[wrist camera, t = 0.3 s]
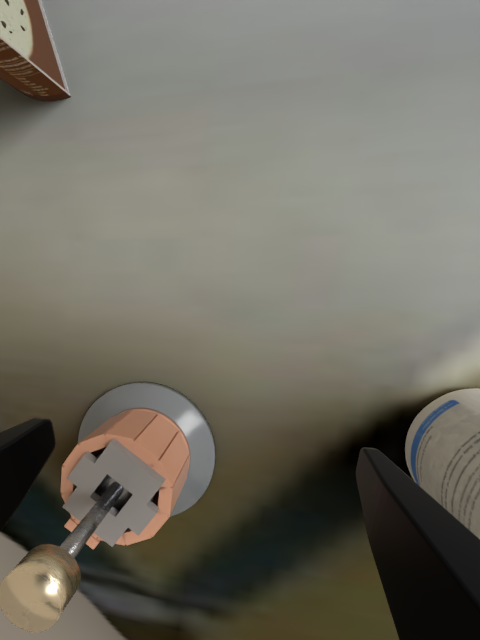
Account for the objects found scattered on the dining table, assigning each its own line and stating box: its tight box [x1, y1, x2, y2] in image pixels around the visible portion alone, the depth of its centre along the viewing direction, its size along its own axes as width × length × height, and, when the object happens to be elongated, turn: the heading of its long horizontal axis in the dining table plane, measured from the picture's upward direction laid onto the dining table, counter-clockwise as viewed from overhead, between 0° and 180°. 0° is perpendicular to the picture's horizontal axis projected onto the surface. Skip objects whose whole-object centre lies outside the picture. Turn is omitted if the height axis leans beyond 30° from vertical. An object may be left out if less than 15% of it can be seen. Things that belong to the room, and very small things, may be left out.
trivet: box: [78, 382, 216, 516], centre depth 25 cm, size 12×12×1 cm
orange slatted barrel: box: [61, 408, 191, 549], centre depth 22 cm, size 10×8×5 cm
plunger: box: [0, 453, 154, 632], centre depth 17 cm, size 5×5×8 cm
